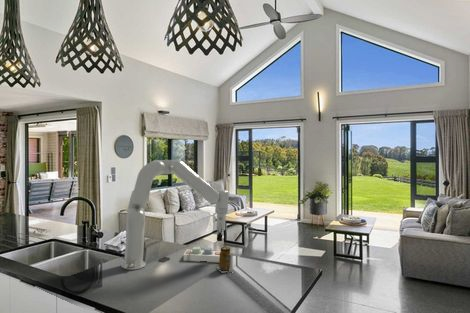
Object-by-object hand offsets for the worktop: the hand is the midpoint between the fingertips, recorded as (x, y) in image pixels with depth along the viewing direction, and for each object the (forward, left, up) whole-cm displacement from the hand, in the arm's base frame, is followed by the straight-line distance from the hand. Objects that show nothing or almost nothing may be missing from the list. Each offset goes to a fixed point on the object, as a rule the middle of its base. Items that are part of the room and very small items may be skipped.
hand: (219, 240), depth 179 cm
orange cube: (0, 0, -11) cm, 11 cm away
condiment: (-17, -4, -12) cm, 21 cm away
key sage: (0, +14, -9) cm, 16 cm away
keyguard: (0, +8, -11) cm, 14 cm away
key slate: (0, +7, -9) cm, 11 cm away
